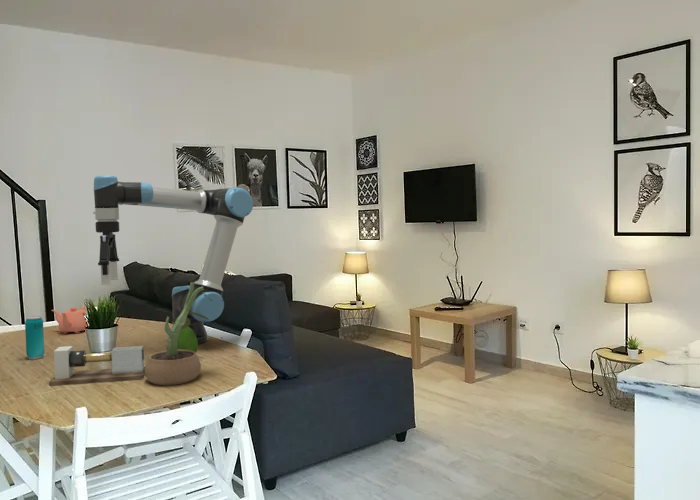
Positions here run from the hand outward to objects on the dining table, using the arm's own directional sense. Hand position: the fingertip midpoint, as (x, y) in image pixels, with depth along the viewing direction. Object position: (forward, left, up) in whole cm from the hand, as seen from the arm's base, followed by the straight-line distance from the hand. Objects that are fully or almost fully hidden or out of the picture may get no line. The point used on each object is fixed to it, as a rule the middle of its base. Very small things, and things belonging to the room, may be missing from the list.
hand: (109, 282), depth 197 cm
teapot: (+28, -63, -29) cm, 75 cm away
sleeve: (-8, +18, -27) cm, 34 cm away
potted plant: (-25, +24, -29) cm, 45 cm away
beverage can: (+29, -15, -29) cm, 44 cm away
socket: (+11, +18, -29) cm, 35 cm away
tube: (+3, +18, -25) cm, 30 cm away
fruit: (-25, 0, -29) cm, 38 cm away
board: (+1, +18, -29) cm, 34 cm away
